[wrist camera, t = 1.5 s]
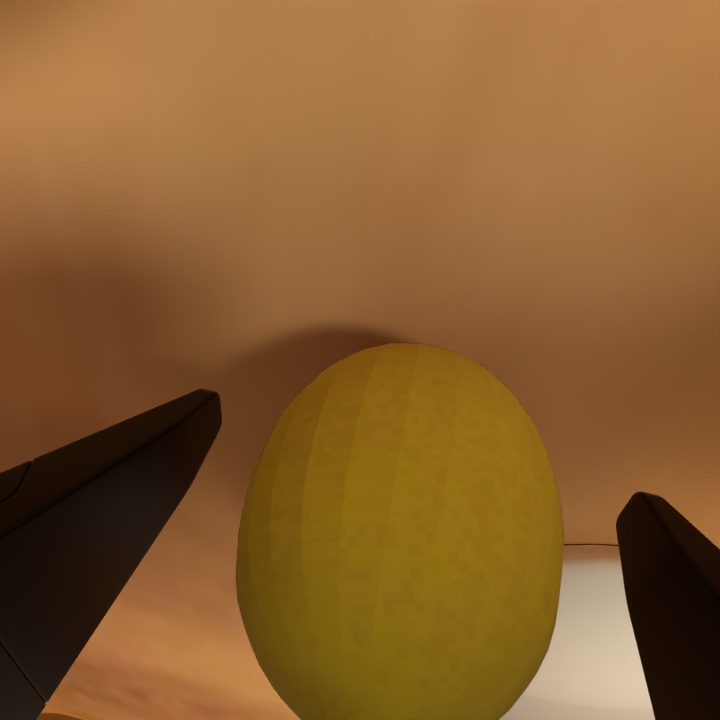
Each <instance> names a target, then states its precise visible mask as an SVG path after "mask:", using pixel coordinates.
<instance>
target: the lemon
mask: <svg viewBox="0 0 720 720" xmlns="http://www.w3.org/2000/svg"><path fill="white" fill-rule="evenodd" d="M563 553H564V530H563V517H562V508H561V502H560V497H559V492H558V488H557V485H556V481H555V478H554V474H553V471H552V468H551V464H550V461H549V458H548V455H547V451H546V448H545V446H544V443H543V441H542V438H541V436H540V434H539V432H538V430H537V428H536V426H535V425H534V423H533V421H532V420H531V418H530V417H529V416H528V414H527V413H526V411H525V410H524V409H523V407H522V406H521V404H520V403H519V401H518V400H517V399H516V397H515V396H514V394H513V393H512V392H511V390H510V389H509V388H508V387H507V386H505V385H504V384H503V383H502V382H501V381H500V380H498V379H497V378H496V377H495V376H494V375H492V374H491V373H490V372H489V371H487V370H486V369H485V368H484V367H483V366H481V365H480V364H479V363H477V362H475V361H473V360H470V359H468V358H466V357H464V356H462V355H460V354H458V353H456V352H454V351H452V350H448V349H443V348H439V347H435V346H430V345H426V344H421V343H389V344H385V345H381V346H376V347H372V348H367V349H363V350H361V351H358V352H356V353H354V354H352V355H350V356H348V357H346V358H344V359H342V360H340V361H339V362H337V363H335V364H333V365H331V366H330V367H328V368H327V369H325V370H324V371H323V372H322V373H321V374H320V375H318V376H317V377H316V378H315V379H314V380H313V381H312V382H311V383H310V384H309V385H308V386H307V387H306V388H305V389H304V390H303V391H302V392H301V393H300V394H299V395H298V396H297V397H295V399H294V400H293V401H292V402H291V403H290V405H289V406H288V407H287V408H286V410H285V411H284V413H283V414H282V416H281V417H280V419H279V421H278V423H277V424H276V426H275V428H274V430H273V432H272V434H271V436H270V438H269V440H268V442H267V444H266V446H265V448H264V450H263V452H262V454H261V456H260V458H259V461H258V463H257V465H256V468H255V470H254V473H253V476H252V479H251V482H250V485H249V488H248V491H247V495H246V499H245V503H244V507H243V511H242V516H241V522H240V528H239V534H238V549H237V564H236V587H237V599H238V604H239V608H240V612H241V616H242V619H243V623H244V627H245V630H246V633H247V636H248V638H249V641H250V644H251V646H252V649H253V651H254V653H255V656H256V658H257V660H258V663H259V665H260V667H261V669H262V670H263V672H264V673H265V675H266V677H267V678H268V680H269V682H270V683H271V685H272V687H273V688H274V689H275V691H276V692H277V693H278V695H279V696H280V697H281V699H282V700H283V701H284V702H285V703H286V704H287V705H288V706H289V707H290V709H291V710H292V711H293V712H294V713H295V714H296V715H297V716H298V717H299V718H300V719H301V720H499V719H500V718H501V717H503V716H504V715H505V714H506V713H507V712H508V711H509V710H510V709H511V708H512V707H513V705H514V704H515V703H516V702H517V700H518V699H519V698H520V696H521V695H522V694H523V693H524V691H525V690H526V689H527V687H528V686H529V684H530V683H531V681H532V680H533V678H534V677H535V676H536V674H537V672H538V670H539V668H540V666H541V664H542V662H543V660H544V658H545V656H546V654H547V652H548V649H549V646H550V642H551V639H552V635H553V632H554V628H555V624H556V617H557V611H558V604H559V596H560V587H561V579H562V567H563Z"/></svg>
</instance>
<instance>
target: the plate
mask: <svg viewBox="0 0 720 720" xmlns="http://www.w3.org/2000/svg"><path fill="white" fill-rule="evenodd" d="M499 720H655V717H654V713H653V709H652V705H651V700H650V696H649V692H648V688H647V684H646V680H645V676H644V672H643V668H642V664H641V660H640V656H639V652H638V648H637V644H636V640H635V636H634V632H633V628H632V624H631V620H630V616H629V611H628V607H627V602H626V596H625V590H624V582H623V575H622V568H621V560H620V553H619V546H607V545H565V546H564V553H563V567H562V579H561V587H560V596H559V604H558V611H557V617H556V624H555V628H554V632H553V635H552V639H551V642H550V646H549V649H548V652H547V654H546V656H545V658H544V660H543V662H542V664H541V666H540V668H539V670H538V672H537V674H536V676H535V677H534V678H533V680H532V681H531V683H530V684H529V686H528V687H527V689H526V690H525V691H524V693H523V694H522V695H521V696H520V698H519V699H518V700H517V702H516V703H515V704H514V705H513V707H512V708H511V709H510V710H509V711H508V712H507V713H506V714H505V715H504V716H503V717H501V718H500V719H499Z"/></svg>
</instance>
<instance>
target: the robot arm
mask: <svg viewBox="0 0 720 720" xmlns="http://www.w3.org/2000/svg"><path fill="white" fill-rule="evenodd" d="M221 424H222V415H221V404H220V396H219V394H218V393H217V392H215V391H210V390H206V389H199V390H196V391H194V392H191V393H189V394H186V395H184V396H182V397H179V398H177V399H175V400H172V401H170V402H167V403H165V404H163V405H160V406H158V407H156V408H153V409H151V410H149V411H146V412H144V413H141V414H139V415H137V416H134V417H132V418H130V419H127V420H125V421H123V422H120V423H118V424H115V425H113V426H111V427H108V428H106V429H104V430H101V431H99V432H97V433H94V434H92V435H89V436H87V437H85V438H82V439H80V440H78V441H75V442H73V443H71V444H68V445H66V446H63V447H61V448H59V449H56V450H54V451H52V452H49V453H47V454H44V455H42V456H40V457H37V458H35V459H34V460H33V461H32V462H31V461H28V462H25V463H23V464H21V465H18V466H16V467H14V468H11V469H9V470H6V471H4V472H1V473H0V720H36V719H37V718H38V716H39V715H40V713H41V712H42V710H43V709H44V707H45V705H46V704H45V703H46V702H48V701H49V699H50V698H51V696H52V695H53V693H54V692H55V690H56V689H57V687H58V686H59V684H60V683H61V681H62V679H63V678H64V676H65V675H66V673H67V672H68V670H69V669H70V667H71V666H72V664H73V663H74V661H75V660H76V658H77V657H78V655H79V654H80V652H81V651H82V649H83V648H84V646H85V645H86V643H87V642H88V640H89V639H90V637H91V636H92V634H93V633H94V631H95V630H96V628H97V627H98V625H99V624H100V622H101V621H102V619H103V618H104V616H105V615H106V613H107V612H108V610H109V609H110V607H111V606H112V604H113V603H114V601H115V600H116V598H117V596H118V595H119V593H120V592H121V590H122V589H123V587H124V586H125V584H126V583H127V581H128V580H129V578H130V577H131V575H132V574H133V572H134V571H135V569H136V568H137V566H138V565H139V563H140V562H141V560H142V559H143V557H144V556H145V554H146V553H147V551H148V550H149V548H150V547H151V545H152V544H153V542H154V541H155V539H156V538H157V536H158V535H159V533H160V532H161V530H162V529H163V527H164V526H165V524H166V523H167V521H168V520H169V518H170V517H171V515H172V514H173V512H174V510H175V509H176V507H177V506H178V504H179V503H180V501H181V500H182V498H183V497H184V495H185V494H186V492H187V491H188V489H189V487H190V486H191V484H192V482H193V480H194V478H195V477H196V475H197V473H198V471H199V469H200V467H201V465H202V463H203V461H204V459H205V457H206V455H207V453H208V451H209V449H210V448H211V446H212V444H213V442H214V440H215V438H216V436H217V434H218V432H219V430H220V427H221ZM616 530H617V538H618V545H619V553H620V560H621V568H622V575H623V582H624V590H625V596H626V602H627V607H628V611H629V616H630V620H631V624H632V628H633V632H634V636H635V640H636V644H637V648H638V652H639V656H640V660H641V664H642V668H643V672H644V676H645V680H646V684H647V688H648V692H649V696H650V700H651V705H652V709H653V713H654V717H655V720H720V549H719V548H717V547H716V546H715V545H714V544H713V543H712V542H711V541H710V540H709V539H708V538H706V537H705V536H704V535H703V534H702V533H701V532H700V531H699V530H698V529H697V528H695V527H694V526H693V525H692V524H691V523H690V522H689V521H688V520H687V519H686V518H685V517H683V516H682V515H681V514H680V513H679V512H678V511H677V510H676V509H675V508H674V507H672V506H671V505H670V504H669V503H668V502H667V501H666V500H665V499H664V498H662V497H660V496H658V495H654V494H650V493H645V492H637V493H635V494H634V495H633V496H632V497H631V499H630V500H629V502H628V503H627V504H626V506H625V507H624V509H623V510H622V512H621V513H620V514H619V516H618V518H617V522H616Z"/></svg>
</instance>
